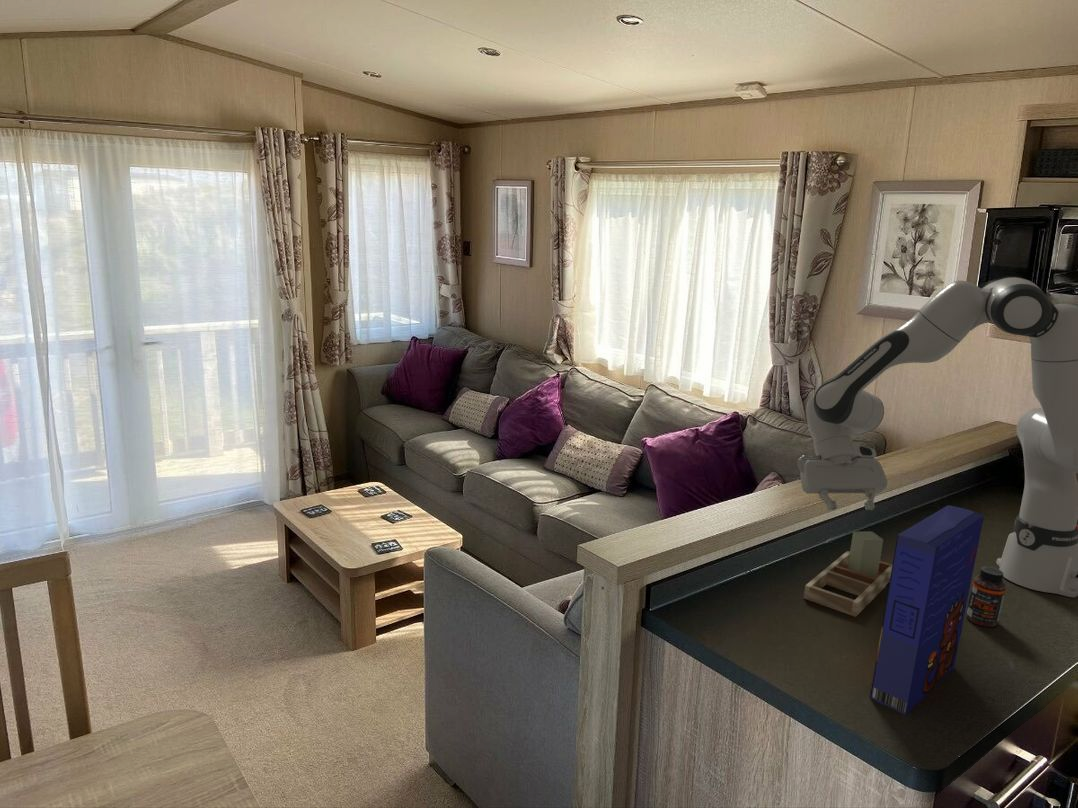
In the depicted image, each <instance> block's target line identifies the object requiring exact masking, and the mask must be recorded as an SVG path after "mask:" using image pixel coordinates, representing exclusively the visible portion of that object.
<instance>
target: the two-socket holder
mask: <svg viewBox="0 0 1078 808" xmlns="http://www.w3.org/2000/svg"><path fill="white" fill-rule="evenodd" d="M849 555H850V551H848V550H847V551H845V552H844V553H843V554H842V555H840V556H839V557H838V558H836V560H834V561H833V562H832V563H831V564H830V565H828V566H827V567H825V569H823V570H822V571H821V572H820V573H818V574H817V575H816V576H815V577H814V578H812V579H811V580H810V581H809V582H808V583H806V584H805V587H804V592H803V599H805V600H808V601H810V602H812V603H813V602H814V603H816V604H817V605H818V604H819V605H821V606H824V607H827V608H829V609H833V610H835V611H838V612H840V613H844V614H847V615H849V616H852V617H855V618H856V617H857V616H858V615H859V614H860V613H861V612H862V611H863V610H864V609H865V608H867V606H868V605H869V604H870V603H871V602H872V601H873V600H874V599H875V598H876V597H877V596H878V595H879V594H880V593H881V592H882V591H883V590H884V589H885V588H886V587H887V586H888V585H889V584H888V583H889V582H890V577H891V571H892V565H893V563H892V564H891V563H889V562H885V561H882V560H880V563H879V569H878V575H877V578H874V577H871V576H868V575H865V574H862V573H859V572H856V571H853V570H849V569H847V568H848V562H849ZM887 584H888V585H887ZM886 585H887V586H886ZM825 586H829V587H832V588H835V589H838V590H840V591H844V592H847V593H850V594H851V595H855V596H858V597H856V599H853V598H849V597H846V596H843V595H841V594H838V593H836V592H833V591H829V590H826V589H823V588H824V587H825Z"/></svg>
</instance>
